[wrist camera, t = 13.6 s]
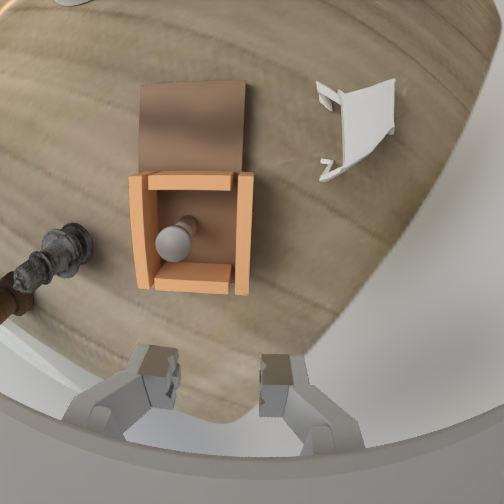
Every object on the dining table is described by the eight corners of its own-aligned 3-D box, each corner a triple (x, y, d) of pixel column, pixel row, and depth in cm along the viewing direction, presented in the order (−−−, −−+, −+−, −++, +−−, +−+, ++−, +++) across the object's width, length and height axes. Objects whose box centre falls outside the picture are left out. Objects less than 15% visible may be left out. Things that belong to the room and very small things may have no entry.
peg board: (146, 88, 24) (114, 72, 17) (246, 83, 24) (243, 62, 17) (150, 272, 31) (125, 306, 24) (238, 276, 31) (234, 314, 24)
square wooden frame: (145, 171, 25) (128, 176, 22) (253, 172, 26) (253, 176, 22) (150, 270, 29) (138, 288, 25) (248, 276, 29) (248, 295, 26)
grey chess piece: (91, 220, 29) (25, 260, 17) (97, 268, 31) (42, 322, 20) (54, 220, 29) (-12, 256, 17) (61, 264, 31) (4, 311, 19)
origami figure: (316, 61, 23) (328, 46, 18) (390, 89, 24) (413, 82, 19) (289, 171, 27) (296, 176, 22) (365, 193, 28) (384, 203, 23)
